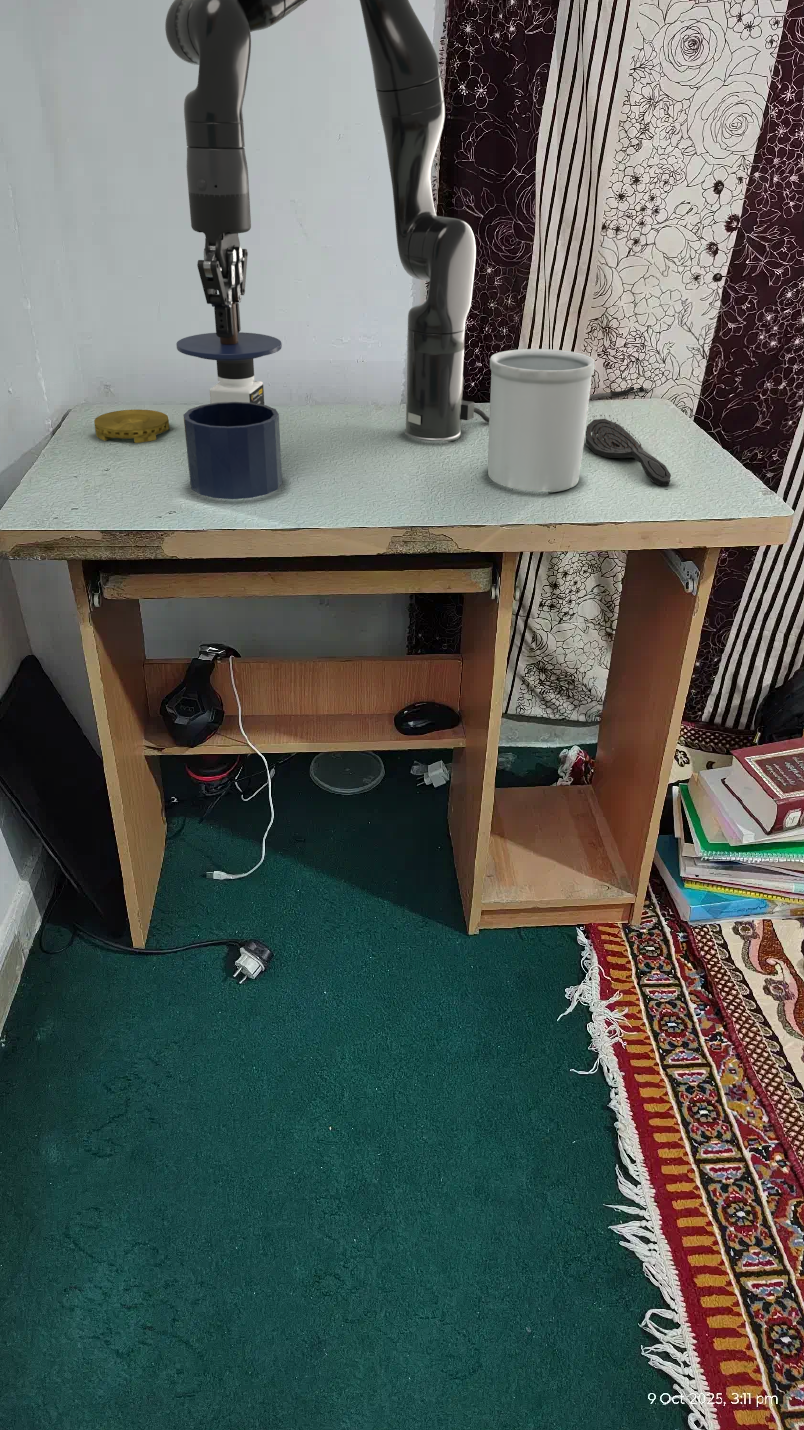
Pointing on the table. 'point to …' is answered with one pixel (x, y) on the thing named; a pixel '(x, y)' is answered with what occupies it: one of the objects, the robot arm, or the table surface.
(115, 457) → the table surface
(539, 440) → the utensil holder
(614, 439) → the hairbrush
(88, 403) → the table surface
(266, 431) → the pot
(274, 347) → the lid
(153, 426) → the golden brown disc
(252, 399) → the medicine bottle
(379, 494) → the table surface
